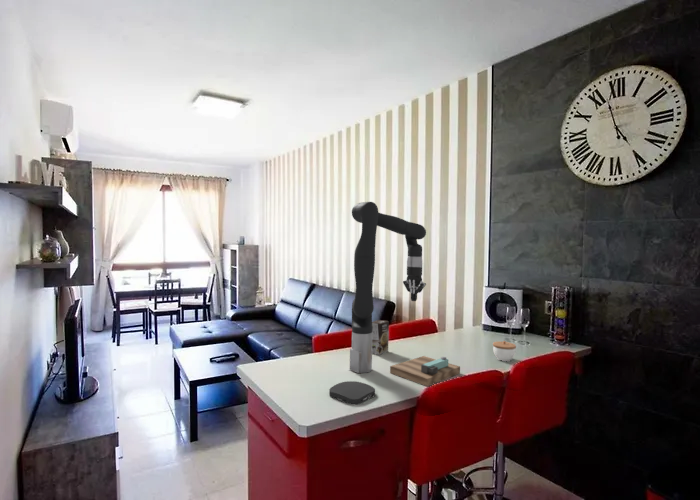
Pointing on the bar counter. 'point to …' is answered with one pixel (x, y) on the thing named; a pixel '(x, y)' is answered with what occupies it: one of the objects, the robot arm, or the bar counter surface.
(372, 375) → the bar counter surface
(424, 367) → the folding leg
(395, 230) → the robot arm
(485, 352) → the bar counter surface
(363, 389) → the media streaming box
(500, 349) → the lidded jar
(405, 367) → the wooden board
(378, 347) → the coffee box
